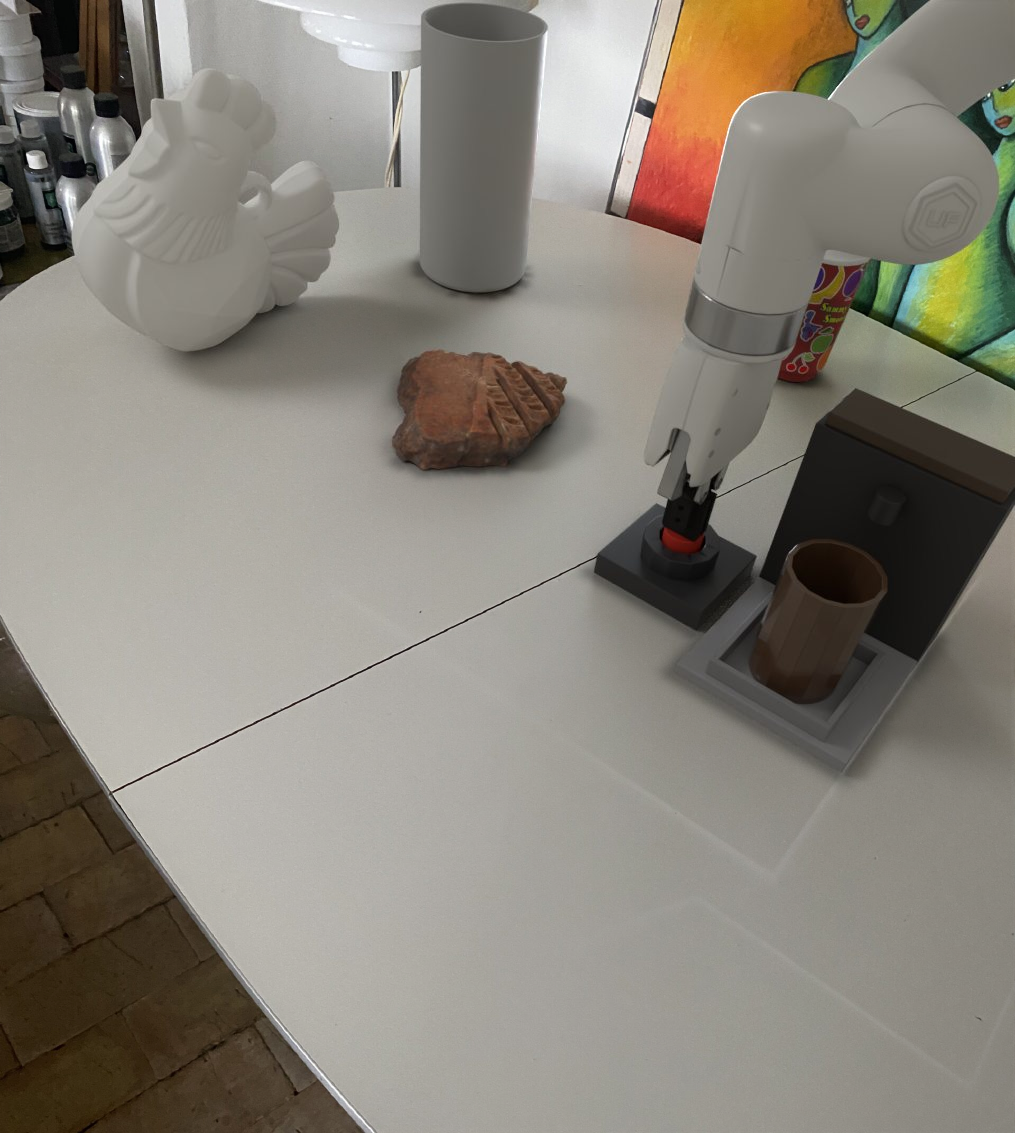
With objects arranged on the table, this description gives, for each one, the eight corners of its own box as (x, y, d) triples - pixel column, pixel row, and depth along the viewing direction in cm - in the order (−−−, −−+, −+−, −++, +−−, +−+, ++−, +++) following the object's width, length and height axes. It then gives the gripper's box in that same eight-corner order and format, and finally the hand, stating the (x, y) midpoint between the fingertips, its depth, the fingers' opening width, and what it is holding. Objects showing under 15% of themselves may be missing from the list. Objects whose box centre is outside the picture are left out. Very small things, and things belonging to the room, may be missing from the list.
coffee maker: (935, 637, 77) (1039, 464, 64) (840, 773, 67) (941, 601, 55) (782, 557, 82) (850, 382, 70) (673, 673, 72) (729, 494, 60)
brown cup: (853, 667, 73) (903, 570, 65) (813, 719, 69) (862, 622, 61) (774, 624, 75) (814, 525, 68) (731, 672, 71) (769, 573, 64)
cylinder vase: (397, 262, 112) (395, 12, 94) (477, 236, 118) (489, -4, 100) (467, 306, 107) (479, 50, 88) (547, 276, 113) (574, 30, 94)
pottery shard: (561, 386, 98) (566, 350, 95) (568, 478, 87) (573, 441, 84) (402, 375, 97) (402, 339, 94) (389, 466, 86) (389, 429, 84)
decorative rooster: (59, 327, 85) (204, 92, 73) (33, 219, 92) (162, -13, 80) (286, 418, 104) (431, 242, 92) (251, 322, 111) (382, 147, 99)
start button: (707, 545, 78) (712, 528, 76) (686, 564, 76) (691, 548, 75) (674, 527, 79) (678, 511, 78) (653, 546, 77) (657, 529, 76)
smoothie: (811, 399, 99) (882, 201, 84) (738, 371, 102) (795, 174, 87) (839, 366, 104) (910, 173, 89) (768, 340, 107) (827, 148, 92)
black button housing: (750, 575, 80) (763, 539, 78) (695, 632, 76) (707, 595, 73) (651, 522, 84) (660, 485, 81) (593, 573, 79) (600, 536, 76)
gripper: (748, 257, 68) (691, 468, 82) (634, 332, 60) (591, 553, 73) (844, 295, 65) (768, 507, 79) (738, 379, 57) (673, 600, 71)
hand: (683, 529), depth 76 cm, fingers closed
